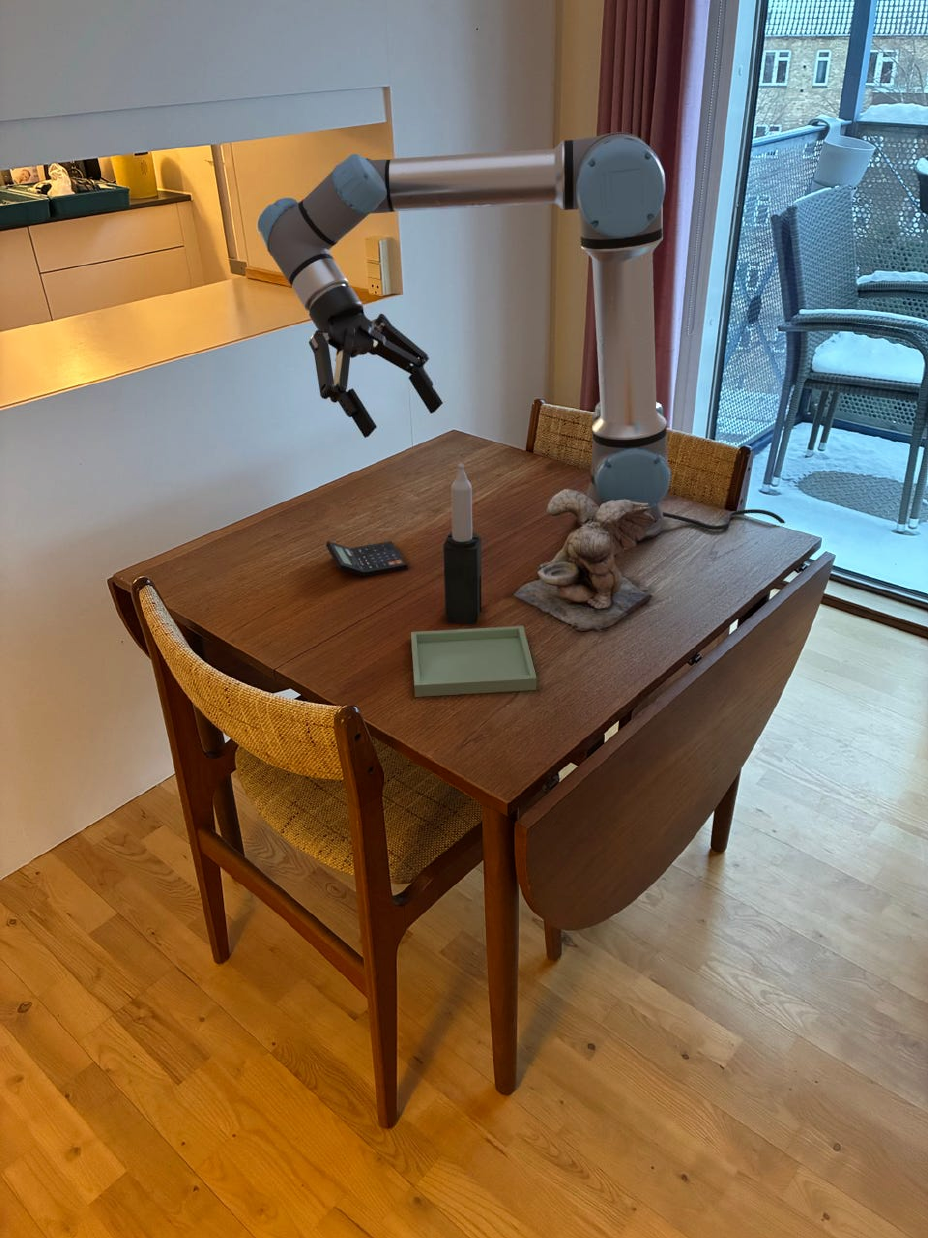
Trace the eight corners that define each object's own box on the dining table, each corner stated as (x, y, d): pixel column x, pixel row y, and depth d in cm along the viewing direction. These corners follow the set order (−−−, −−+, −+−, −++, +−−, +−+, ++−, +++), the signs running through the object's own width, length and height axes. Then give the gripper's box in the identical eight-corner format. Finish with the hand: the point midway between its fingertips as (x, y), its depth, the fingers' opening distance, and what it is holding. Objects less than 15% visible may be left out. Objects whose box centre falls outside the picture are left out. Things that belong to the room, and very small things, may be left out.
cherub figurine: (504, 598, 153) (504, 494, 144) (575, 559, 164) (579, 460, 155) (593, 636, 142) (599, 527, 133) (663, 592, 153) (672, 488, 144)
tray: (523, 637, 143) (523, 625, 142) (536, 690, 131) (536, 678, 130) (411, 643, 142) (410, 631, 141) (414, 697, 130) (414, 685, 129)
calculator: (407, 568, 162) (406, 553, 160) (340, 581, 158) (338, 565, 157) (391, 545, 169) (390, 530, 168) (327, 556, 166) (325, 541, 164)
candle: (476, 625, 146) (475, 471, 133) (443, 622, 147) (439, 469, 134) (482, 608, 150) (482, 457, 137) (450, 605, 151) (447, 455, 138)
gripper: (379, 299, 153) (449, 411, 152) (251, 331, 137) (329, 456, 136) (401, 269, 147) (474, 385, 146) (270, 298, 131) (352, 429, 130)
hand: (405, 420), depth 141 cm, fingers open, 13 cm apart
